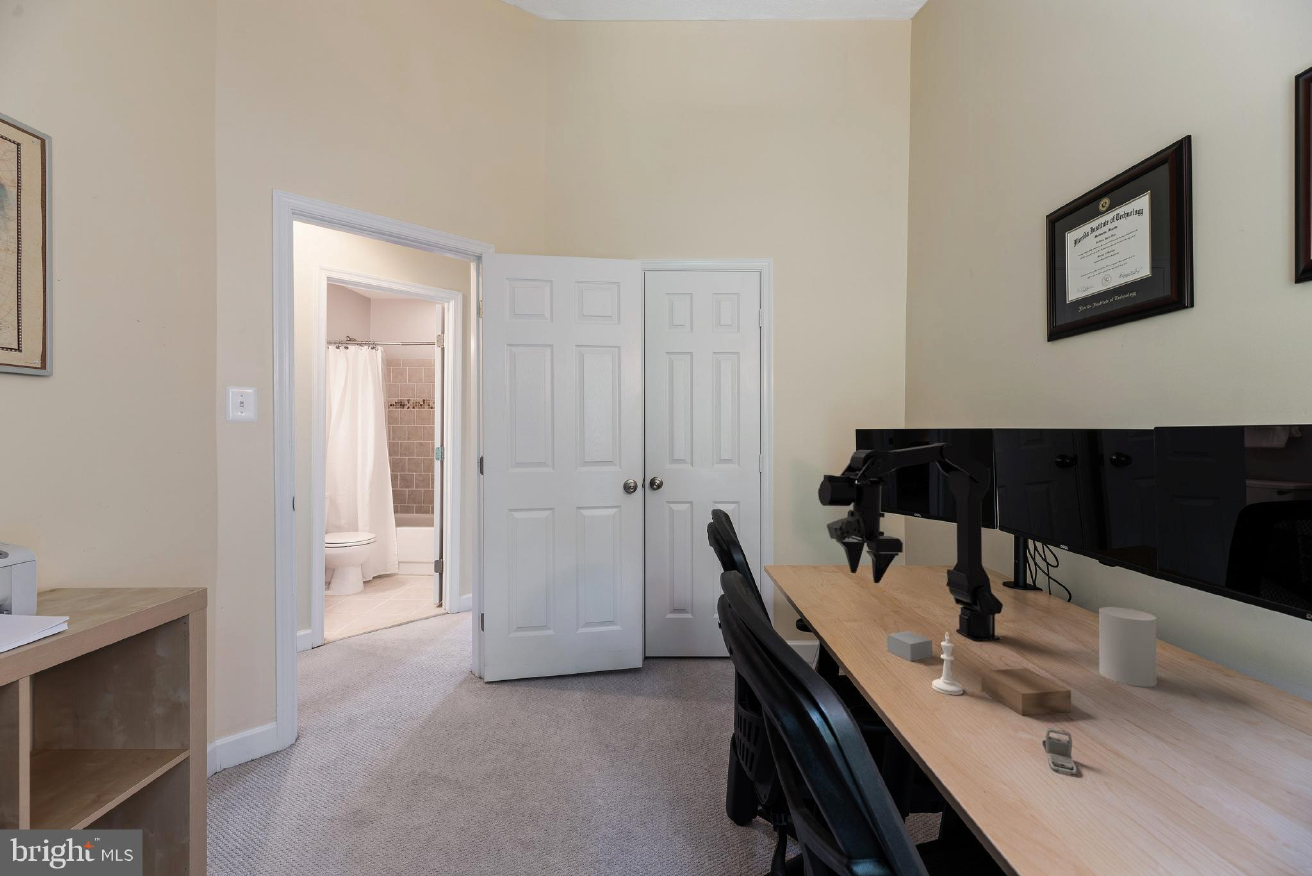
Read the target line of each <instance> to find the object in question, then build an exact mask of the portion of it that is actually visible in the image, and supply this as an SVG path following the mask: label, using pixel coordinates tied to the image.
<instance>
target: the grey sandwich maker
mask: <svg viewBox="0 0 1312 876" xmlns="http://www.w3.org/2000/svg"><path fill="white" fill-rule="evenodd" d="M1045 732H1046V733H1045V740H1044V739H1043V740H1042V741H1041V742H1042V744H1041V745H1042V747H1043V749H1045V750H1044V751H1045V753H1046V754H1047V753H1048V754H1047V761H1048V766H1049V769H1050V770H1051V771H1052V772H1054V773H1057V774H1061V775H1065V774H1066V775H1065V776H1069V775H1070V777H1075V776H1076V777H1078V776H1077V775H1078V770H1077V769H1078V768H1077V766H1076V764H1075V762H1074V761H1073V758H1072V749H1073V739H1072V735H1071V733H1070V732H1069V731H1065V729H1061V728H1056V727H1052V728H1047V729H1046V731H1045ZM1051 733H1054V734H1059V735H1064V736H1067V737H1068V739H1063V738H1059V737H1054V736H1050V734H1051Z"/></svg>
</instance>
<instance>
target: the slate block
mask: <svg viewBox="0 0 1312 876" xmlns="http://www.w3.org/2000/svg"><path fill="white" fill-rule="evenodd" d="M886 639H887V640H886V641H887V642H886V643H887V646H886V647H887V652H889V653H891V654H893V655H895V656H898V657H900V658H902V659H905V660H907V661H909V662H915V661H920V660H924V659H929V658H933V639H931V638H929V637H925V636H923V635H920V634H918V633H915V632H912V631H910V630H906V631H900V632H899V631H898V632H894V633H888V634H887V638H886Z"/></svg>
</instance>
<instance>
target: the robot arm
mask: <svg viewBox="0 0 1312 876" xmlns="http://www.w3.org/2000/svg"><path fill="white" fill-rule="evenodd" d="M930 463H936V465H937V467H938V469H939V470H940V471H941V472H942V474H945V475H946V477H947V480H948V486H949V489H950V491H951V493H952V495H953V496H954V499H955V501H956V564H955V565H954V567H953V568H952V569H951V568H948V569H947V570H946V578H947V579H946V580H947V581H946V585H945V586H946V587H948V591H949V594H950V595H952V597H953V599H954V602H955V603H954V604H956V605H959V606H961V607H960V614H959V615H958V620H959V621H958V628H957V629H955V632H956V633H958V634H960V635H962V636H965V637H966V638H968V639H971V640H972V641H975V642H976V641H995V640H996V641H997V640H1001V637H1000V636H999V635H996V615H1000V614H1001V613H1002V610H1003V607H1004V604H1003V602H1001V600H999V599H998V598H997V597H996V595H995V594H994V593H993V591H992V586H991V579H990V577H989V575H988V572H987V571H986V570H985V568H984V566H983V549H982V548H983V546H982V545H983V542H982V540H983V539H982V537H983V531H982V501H983V500H984V498H985V496H986V494H987V493H988V491H989V489H990V488H989V487H990V481H991V472H990V471H991V470H990V468H989V467H987V466H986V465H985V464H984V463H983V462H979V461H978V460H976V459H975V458H973V457H972V456H970V455H968V454H966V453H964V452H963V451H961V450H959V449H958V448H957V447H956V446H955V445H954V444H951V443H949V442H936V443H933V444H928V445H922V446H916V447H915V446H913V447H909V448H902V449H901V448H900V449H894V450H878V449H872V450H871V449H858V450H855V451H854V452H853V453H852V455H851V456H850V460H849V463H848V464H847V466H846V467H845V468H844V470H842V472H841V473H840V475H834V474H824V475H823V480H822V481H821V482H820V484H819V488H818V489H817V494H818V500H819V503H820V504H821V505H822V506H824V507H850V506H851V505H852V509H849V510H848V511H847V516H846V517H843V518H839V519H837V520H834V521H832V522H829V523H827V524H826V528H827V533H828V535H829V538H830V539H831V540H833V539H834V540H835V541H836V543H838V544H839V545H840V546H841V547H842V549H844V552H845V553H844V554H845V556H846V560H847V563H848V566H849V570H850V573H852V574H856V573H857V571H858V568H859V565H860V561H861V558H862V555H863V551H864V548H865V544H866V547H867V550H865V552H866V553H867V554H868V555H869V557H870V559H871V568H872V571H871V572H872V579H873V583H874V584H880V583H881V580H882V579H883V577H884V575H885V573H886V572H887V570H888V568H889V566H891V564H892V562H893V561H894V560H895V558H896V557H898V556H899V554H900V553H903V552H904V543H903V541H902V540H901V539H900V538H898V537H894V536H891V535H885V531H882V530H881V518H885V516H886V515H885V512H882V511H881V509H882V508H881V505H882V501H881V500H882V488H890V487H891V486H892V484H891V483H890V482H889V481H888V480H887V479H886V478H885V477H884V476H883V475H887V474H888V473H891V472H893V471H895V470H896V469H899V468H903V467H904V468H905V467H910V466H915V465H916V466H917V465H923V464H930ZM873 477H874V478H873ZM857 481H859V482H857Z"/></svg>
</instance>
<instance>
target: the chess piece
mask: <svg viewBox="0 0 1312 876" xmlns="http://www.w3.org/2000/svg"><path fill="white" fill-rule="evenodd" d="M949 634H950V633H949V632H947V631H946V632H945V635H944V637H945V641H942V642H941V643H940V644H941V645H940V646H941V648H942V651H943V654H941V655H940V658H941V659H942V660H943V668H942V675H941V677H940V678H937V679H934V680H933V681H932V682H931V683H932V685H931V687H932V689H933V690H935V691H937V692H938V693H942V694H946V695H949V694H952V695H951V696H959V695H962V694H963V693H964V689H963V686H962V685H961V684H960V682H959V683H958V682H956V681H955V679H953V673H952V667H951V666H952V664H951V661H954V660H955V657H954V656H953V655H951V654H952V651H953V649H954V646H955V645H954V643H952V642H950V635H949Z"/></svg>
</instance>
